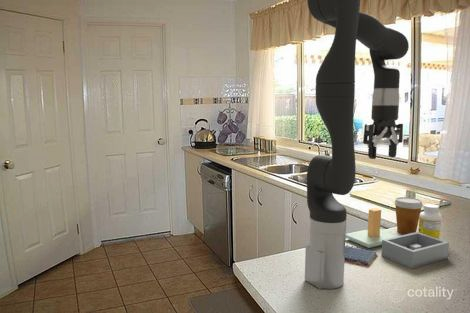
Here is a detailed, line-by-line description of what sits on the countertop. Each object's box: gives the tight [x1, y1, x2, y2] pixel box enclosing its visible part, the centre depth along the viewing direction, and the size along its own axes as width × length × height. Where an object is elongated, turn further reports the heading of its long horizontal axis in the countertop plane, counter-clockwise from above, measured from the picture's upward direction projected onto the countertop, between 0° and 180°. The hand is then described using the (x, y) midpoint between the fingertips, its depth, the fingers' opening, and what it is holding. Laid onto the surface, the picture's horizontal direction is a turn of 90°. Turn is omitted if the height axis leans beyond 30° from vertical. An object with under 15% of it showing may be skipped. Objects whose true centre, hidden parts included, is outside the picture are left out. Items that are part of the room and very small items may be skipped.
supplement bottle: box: [417, 203, 443, 240], centre depth 130 cm, size 7×7×13 cm
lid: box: [345, 208, 401, 249], centre depth 132 cm, size 16×11×11 cm
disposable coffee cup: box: [393, 196, 424, 235], centre depth 141 cm, size 10×10×12 cm
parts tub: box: [380, 231, 450, 270], centre depth 119 cm, size 16×11×5 cm
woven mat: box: [344, 244, 378, 268], centre depth 119 cm, size 10×11×2 cm
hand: (382, 157), depth 119 cm, fingers open, 8 cm apart
